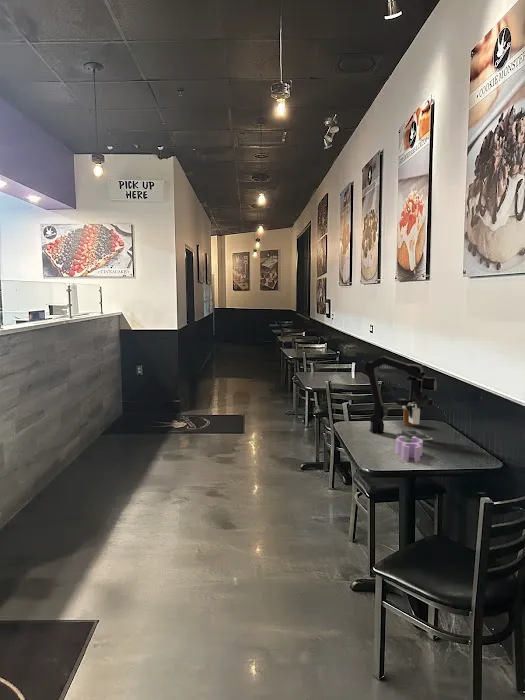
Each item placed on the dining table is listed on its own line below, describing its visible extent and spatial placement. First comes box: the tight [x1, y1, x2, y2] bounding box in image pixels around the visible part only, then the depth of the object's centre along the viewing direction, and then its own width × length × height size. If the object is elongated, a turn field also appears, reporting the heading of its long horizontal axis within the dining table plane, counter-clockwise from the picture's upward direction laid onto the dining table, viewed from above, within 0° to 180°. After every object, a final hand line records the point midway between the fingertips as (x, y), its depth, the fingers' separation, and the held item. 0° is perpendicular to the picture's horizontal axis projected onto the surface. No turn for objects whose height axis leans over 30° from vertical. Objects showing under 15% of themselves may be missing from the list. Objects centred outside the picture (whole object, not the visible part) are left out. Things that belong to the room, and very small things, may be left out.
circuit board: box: [394, 432, 434, 442], centre depth 289 cm, size 16×12×1 cm
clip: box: [395, 436, 424, 463], centre depth 258 cm, size 20×12×7 cm, turn 171°
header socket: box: [401, 429, 427, 439], centre depth 289 cm, size 9×10×2 cm
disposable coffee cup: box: [401, 403, 417, 427], centre depth 316 cm, size 10×10×12 cm
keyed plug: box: [409, 405, 421, 425], centre depth 287 cm, size 4×6×10 cm, turn 12°
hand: (414, 417), depth 288 cm, fingers closed on keyed plug, 4 cm apart
